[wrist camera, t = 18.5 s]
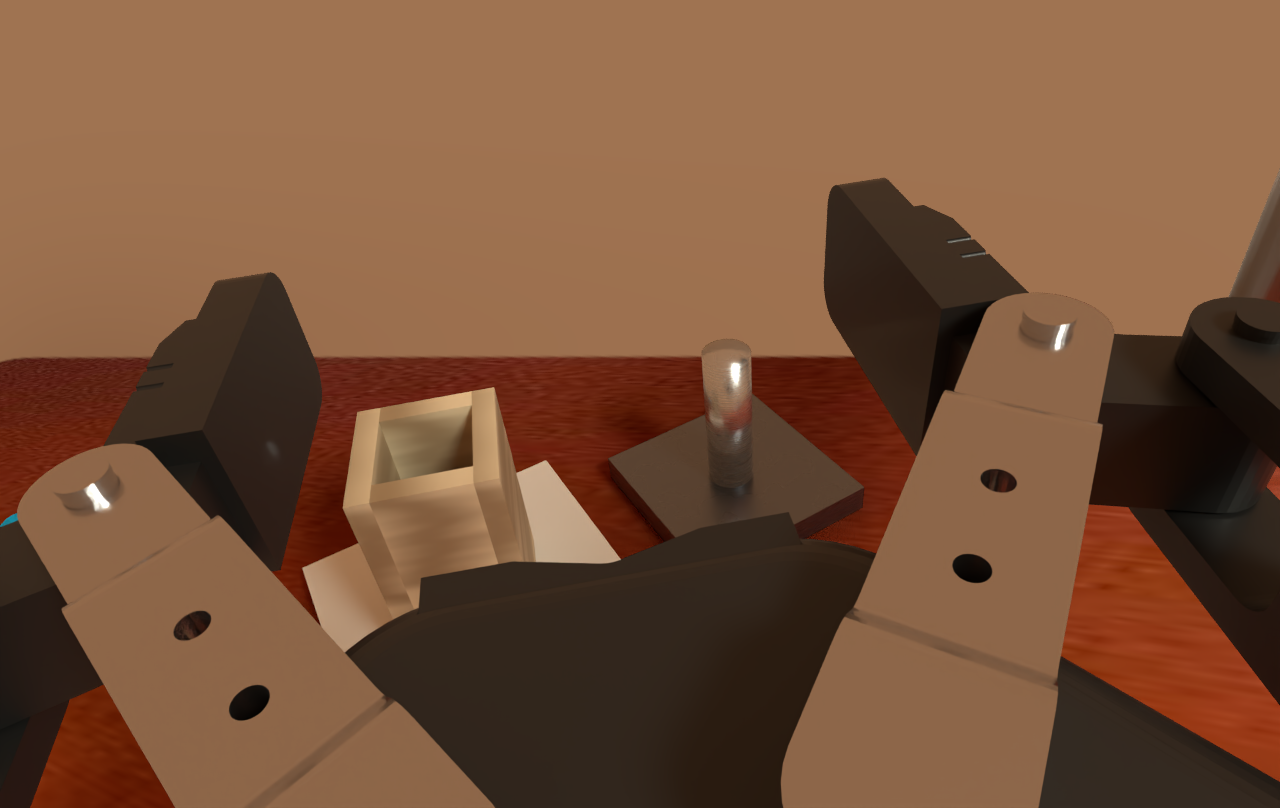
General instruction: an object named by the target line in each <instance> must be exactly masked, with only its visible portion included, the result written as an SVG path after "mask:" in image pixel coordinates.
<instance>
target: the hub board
mask: <svg viewBox="0 0 1280 808" xmlns="http://www.w3.org/2000/svg"><path fill="white" fill-rule="evenodd" d="M516 474H517V478H518V481H519V485H520V489H521V493H522V497H523V501H524V504H525V508H526V512H527V516H528V520H529V524H530V527H531V531H532V535H533V539H534V547H535V557H536V562H559V563H611V562H615V561H618V560H621V559H620V558H619V556H618V555H617V554H616V552H615V551H614V550H613V548H612V547H611V546H610V544H609V543H608V542H607V540H606V539H605V538H604V536H603V535H602V534H601V532H600V531H599V530H598V528H597V527H596V526H595V524H594V523H593V522H592V520H591V519H590V518H589V517H588V515H587V514H586V513H585V511H584V510H583V509H582V507H581V506H580V505H579V503H578V502H577V501H576V499H575V498H574V497H573V495H572V494H571V493H570V491H569V490H568V489H567V487H566V486H565V485H564V483H563V482H562V481H561V479H560V478H559V477H558V475H557V474H556V473H555V471H554V470H553V469H552V467H551V466H550V465H549V463H548V462H547V461H546V460H545V461H543V462H541V463H539V464H536V465H534V466H532V467H530V468H527V469H525V470H523V471H520V472H518V473H516ZM302 569H303V572H304V575H305V578H306V581H307V584H308V587H309V591H310V594H311V597H312V600H313V603H314V606H315V609H316V612H317V615H318V618H319V622H320V625H321V627H322V628H323V629H324V630H325V632H326V633H327V634H328V635H329V636H330V637H331V638H332V639H333V640H334V641H335V643H336V644H337V645H338V646H339V647H340V648H341V649H342V650H343V651H344V653H345V652H346V651H347V650H348V649H349V648H351V647H352V646H353V645H355V644H356V643H357V642H359V641H360V640H361V639H362V638H364V637H365V636H366V635H368V634H370V633H371V632H373V631H374V630H376V629H377V628H379V627H381V626H382V625H384V624H385V623H387V622H389V621H391V620H393V618H392V616H391V613H390V611H389V609H388V607H387V605H386V602H385V600H384V598H383V596H382V594H381V591H380V589H379V587H378V585H377V583H376V580H375V578H374V576H373V574H372V572H371V569H370V567H369V565H368V563H367V561H366V558H365V556H364V554H363V552H362V550H361V547H360V545H359V543H358V544H355V545H353V546H351V547H349V548H346V549H344V550H342V551H340V552H337V553H335V554H333V555H330V556H328V557H326V558H324V559H321V560H319V561H317V562H315V563H312V564H310V565H308V566H306V567H303V568H302Z"/></svg>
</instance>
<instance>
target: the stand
mask: <svg viewBox="0 0 1280 808" xmlns="http://www.w3.org/2000/svg"><path fill="white" fill-rule="evenodd" d="M702 370H703V386H704V402H705V415H703V416H701V417H698V418H696V419H694V420H692V421H690V422H687V423H685V424H683V425H681V426H679V427H676V428H674V429H672V430H670V431H668V432H665V433H663V434H661V435H659V436H657V437H654V438H652V439H650V440H648V441H646V442H643V443H641V444H639V445H637V446H635V447H632V448H630V449H628V450H626V451H624V452H621V453H619V454H617V455H615V456H613V457H610V458H608V461H609V467H610V473H611V478H612V479H613V480H614V482H615V483H616V484H617V485H618V486H619V488H620V489H621V490H622V491H623V492H624V494H625V495H626V496H627V497H628V498H629V500H630V501H631V502H632V503H633V504H634V506H635V507H636V508H637V509H638V510H639V512H640V513H641V514H642V515H643V516H644V518H645V519H646V520H647V521H648V522H649V524H650V525H651V526H652V527H653V528H654V530H655V531H656V532H657V533H658V534H659V536H660V537H661V538H662V539H663V540H664V542H666V541H668V540H671V539H673V538H676V537H678V536H681V535H683V534H686V533H688V532H691V531H693V530H696V529H698V528H702V527H708V526H713V525H719V524H724V523H730V522H735V521H741V520H747V519H752V518H758V517H763V516H769V515H774V514H780V513H786V512H789V514H790V516H791V519H792V521H793V524H794V526H795V529H796V531H797V534H798V536H799V539H805V538H807V537H808V536H810V535H812V534H814V533H816V532H818V531H820V530H821V529H823V528H825V527H827V526H829V525H831V524H833V523H834V522H836V521H838V520H840V519H842V518H844V517H845V516H847V515H849V514H851V513H853V512H855V511H857V510H858V509H860V508H862V506H863V495H864V487H863V486H862V485H861V484H860V483H859V482H857V481H856V480H855V479H854V478H853V477H851V476H850V475H849V474H848V473H847V472H845V471H844V470H843V469H842V468H841V467H839V466H838V465H837V464H836V463H835V462H833V461H832V460H831V459H830V458H829V457H827V456H826V455H825V454H824V453H823V452H821V451H820V450H819V449H818V448H817V447H815V446H814V445H813V444H812V443H811V442H809V441H808V440H807V439H806V438H805V437H803V436H802V435H801V434H800V433H799V432H797V431H796V430H795V429H794V428H793V427H791V426H790V425H789V424H788V423H787V422H785V421H784V420H783V419H782V418H781V417H779V416H778V415H777V414H776V413H775V412H774V411H772V410H771V409H770V408H769V407H768V406H766V405H765V404H764V403H763V402H762V401H760V400H759V399H758V398H757V397H756V396H754V395H753V394H752V382H751V350H750V348H749V346H748V345H747V344H745V343H744V342H741V341H739V340H734V339H721V340H716V341H713V342H711V343H709V344H708V345H706V346H705V347H704V348H703V350H702Z"/></svg>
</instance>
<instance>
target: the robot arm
mask: <svg viewBox="0 0 1280 808" xmlns="http://www.w3.org/2000/svg"><path fill="white" fill-rule="evenodd" d="M824 270H825V271H824V291H825V299H826V304H827V308H828V311H829V314H830V317H831V319H832V321H833V323H834V324H835V326H836V328H837V329H838V331H839V332H840V334H841V336H842V337H843V339H844V340H845V342H846V344H847V345H848V347H849V348H850V350H851V352H852V353H853V355H854V357H855V358H856V360H857V361H858V363H859V365H860V366H861V368H862V369H863V371H864V373H865V374H866V376H867V377H868V379H869V381H870V382H871V384H872V385H873V387H874V389H875V390H876V392H877V393H878V395H879V397H880V398H881V400H882V402H883V403H884V405H885V406H886V408H887V410H888V411H889V413H890V414H891V416H892V418H893V419H894V421H895V422H896V424H897V426H898V427H899V429H900V430H901V432H902V434H903V435H904V437H905V438H906V440H907V442H908V443H909V445H910V447H911V448H912V450H913V451H914V453H915V455H916V456H917V457H916V459H915V462H914V464H913V466H912V469H911V471H910V474H909V476H908V479H907V481H906V483H905V486H904V488H903V491H902V493H901V496H900V498H899V500H898V503H897V505H896V508H895V510H894V513H893V515H892V517H891V520H890V522H889V525H888V527H887V530H886V532H885V534H884V537H883V539H882V542H881V544H880V547H879V549H878V551H877V554H876V553H873V552H870V551H867V550H864V549H861V548H858V547H855V546H850V545H846V544H841V543H837V542H831V541H824V540H816V539H799V536H798V534H797V531H796V529H795V526H794V524H793V521H792V519H791V516H790V514H789V512H786V513H780V514H774V515H769V516H763V517H758V518H752V519H747V520H741V521H735V522H730V523H724V524H719V525H713V526H708V527H702V528H698V529H696V530H693V531H691V532H688V533H686V534H683V535H681V536H678V537H676V538H673V539H671V540H668V541H666V542H663V543H661V544H658V545H656V546H653V547H651V548H648V549H646V550H643V551H641V552H638V553H636V554H633V555H631V556H628V557H626V558H623V559H621V560H618V561H615V562H611V563H559V562H518V561H512V562H507V563H501V564H495V565H490V566H484V567H479V568H473V569H468V570H462V571H456V572H451V573H445V574H440V575H434V576H429V577H423V578H421V582H420V596H419V608H417V609H414V610H412V611H409V612H407V613H405V614H403V615H401V616H399V617H397V618H395V619H393V620H391V621H389V622H387V623H385V624H384V625H382V626H381V627H379V628H377V629H376V630H374V631H373V632H371V633H370V634H368V635H366V636H365V637H364V638H362V639H361V640H360V641H359V642H357V643H356V644H355V645H353V646H352V647H351V648H349V649H348V650H347V651H346V652H345V653H344V651H343V650H342V649H341V648H340V647H339V646H338V645H337V644H336V643H335V641H334V640H333V639H332V638H331V637H330V636H329V635H328V634H327V633H326V632H325V630H324V629H323V628H322V627H321V626H320V625H319V624H318V623H317V622H316V621H315V619H314V618H313V617H312V616H311V615H310V614H309V613H308V612H307V611H306V610H305V608H304V607H303V606H302V605H301V604H300V603H299V602H298V601H297V600H296V599H295V597H294V596H293V595H292V594H291V593H290V592H289V591H288V590H287V589H286V587H285V586H284V585H283V584H282V583H281V582H280V581H279V580H278V579H277V578H276V576H275V575H274V574H273V573H272V572H271V571H277V570H281V566H282V561H283V557H284V553H285V549H286V545H287V541H288V537H289V533H290V529H291V525H292V521H293V517H294V513H295V509H296V505H297V501H298V496H299V492H300V488H301V484H302V480H303V476H304V472H305V468H306V464H307V460H308V456H309V452H310V448H311V444H312V440H313V435H314V431H315V427H316V423H317V419H318V415H319V411H320V407H321V402H322V388H321V380H320V375H319V371H318V368H317V364H316V362H315V359H314V357H313V354H312V352H311V350H310V347H309V345H308V342H307V340H306V338H305V335H304V333H303V331H302V328H301V326H300V324H299V321H298V319H297V316H296V314H295V312H294V309H293V307H292V304H291V302H290V299H289V297H288V295H287V292H286V290H285V288H284V286H283V284H282V282H281V280H280V279H279V278H278V277H277V276H276V275H275V274H274V273H271V272H270V273H264V274H257V275H251V276H244V277H238V278H232V279H225V280H219V281H217V282H215V283H214V285H213V287H212V289H211V291H210V293H209V295H208V297H207V299H206V301H205V303H204V305H203V307H202V308H201V310H200V312H199V314H198V317H197V318H196V319H194V320H188V321H185V322H184V323H183V324H182V325H181V326H179V327H178V328H177V329H176V330H175V331H173V332H172V333H171V334H170V335H169V336H168V337H167V338H165V339H164V340H163V341H162V342H161V343H160V344H159V346H158V347H157V349H156V351H155V353H154V355H153V356H152V358H151V360H150V362H149V364H148V365H147V367H146V368H147V372H144V373H143V375H142V376H141V378H140V380H139V382H138V384H137V386H136V389H137V391H136V392H133V393H132V395H131V397H130V398H129V400H128V402H127V404H126V406H125V408H124V409H123V411H122V413H121V415H120V417H119V419H118V420H117V422H116V424H115V426H114V428H113V430H112V431H111V433H110V435H109V437H108V439H107V441H106V442H105V444H104V446H102V447H99V448H95V449H92V450H89V451H86V452H84V453H81V454H78V455H76V456H74V457H72V458H70V459H68V460H66V461H64V462H62V463H61V464H59V465H57V466H56V467H54V468H53V469H51V470H50V471H48V472H47V473H45V474H44V475H43V476H42V477H40V478H39V479H38V480H37V481H36V482H35V483H34V484H33V485H32V486H31V487H30V488H29V489H28V491H27V492H26V493H25V494H24V496H23V498H22V499H21V501H20V503H19V506H18V510H17V518H18V520H17V521H15V522H13V523H10V524H7V525H4V526H2V527H0V808H30V806H31V804H32V801H33V798H34V795H35V793H36V790H37V787H38V785H39V782H40V779H41V776H42V774H43V771H44V768H45V766H46V763H47V760H48V757H49V755H50V752H51V749H52V747H53V744H54V741H55V739H56V736H57V733H58V730H59V728H60V725H61V722H62V720H63V717H64V714H65V711H66V709H67V706H68V703H69V699H71V698H74V697H76V696H78V695H81V694H83V693H85V692H87V691H90V690H92V689H94V688H97V687H99V686H101V685H103V684H104V686H105V687H106V689H107V691H108V693H109V694H110V696H111V698H112V699H113V701H114V703H115V705H116V706H117V708H118V710H119V711H120V713H121V715H122V717H123V718H124V720H125V722H126V724H127V725H128V727H129V729H130V730H131V732H132V734H133V736H134V737H135V739H136V741H137V742H138V744H139V746H140V748H141V749H142V751H143V753H144V755H145V756H146V758H147V760H148V761H149V763H150V765H151V767H152V768H153V770H154V772H155V773H156V775H157V777H158V779H159V780H160V782H161V784H162V786H163V787H164V789H165V791H166V792H167V794H168V796H169V798H170V799H171V801H172V803H173V805H174V806H175V808H1280V782H1279V781H1277V780H1275V779H1274V778H1272V777H1270V776H1268V775H1267V774H1265V773H1263V772H1261V771H1260V770H1258V769H1256V768H1254V767H1253V766H1251V765H1249V764H1247V763H1246V762H1244V761H1242V760H1241V759H1239V758H1237V757H1235V756H1234V755H1232V754H1230V753H1228V752H1227V751H1225V750H1223V749H1221V748H1220V747H1218V746H1216V745H1214V744H1213V743H1211V742H1209V741H1207V740H1206V739H1204V738H1202V737H1200V736H1199V735H1197V734H1195V733H1194V732H1192V731H1190V730H1188V729H1187V728H1185V727H1183V726H1181V725H1180V724H1178V723H1176V722H1174V721H1173V720H1171V719H1169V718H1167V717H1166V716H1164V715H1162V714H1160V713H1159V712H1157V711H1155V710H1153V709H1152V708H1150V707H1148V706H1147V705H1145V704H1143V703H1141V702H1140V701H1138V700H1136V699H1134V698H1133V697H1131V696H1129V695H1127V694H1126V693H1124V692H1122V691H1120V690H1119V689H1117V688H1115V687H1114V686H1112V685H1110V684H1108V683H1107V682H1105V681H1103V680H1101V679H1100V678H1098V677H1096V676H1094V675H1093V674H1091V673H1089V672H1087V671H1086V670H1084V669H1082V668H1080V667H1079V666H1077V665H1075V664H1074V663H1072V662H1070V661H1068V660H1067V659H1065V658H1063V657H1061V651H1062V646H1063V641H1064V635H1065V630H1066V624H1067V619H1068V613H1069V608H1070V603H1071V597H1072V592H1073V586H1074V581H1075V576H1076V570H1077V565H1078V559H1079V554H1080V548H1081V543H1082V538H1083V532H1084V527H1085V521H1086V516H1087V511H1088V505H1089V504H1092V505H1107V506H1121V507H1129V509H1130V510H1131V512H1132V513H1133V515H1134V516H1135V517H1136V519H1137V520H1138V521H1139V522H1140V524H1141V525H1142V526H1143V528H1144V529H1145V530H1146V532H1147V533H1148V534H1149V535H1150V537H1151V538H1152V539H1153V541H1154V542H1155V543H1156V545H1157V546H1158V547H1159V548H1160V550H1161V551H1162V552H1163V554H1164V555H1165V556H1166V558H1167V559H1168V560H1169V562H1170V563H1171V564H1172V565H1173V567H1174V568H1175V569H1176V571H1177V572H1178V573H1179V575H1180V576H1181V577H1182V578H1183V580H1184V581H1185V582H1186V584H1187V585H1188V586H1189V588H1190V589H1191V590H1192V591H1193V593H1194V594H1195V595H1196V597H1197V598H1198V599H1199V601H1200V602H1201V603H1202V605H1203V606H1204V607H1205V608H1206V610H1207V611H1208V612H1209V614H1210V615H1211V616H1212V618H1213V619H1214V620H1215V621H1216V623H1217V624H1218V625H1219V627H1220V628H1221V629H1222V631H1223V632H1224V633H1225V635H1226V636H1227V637H1228V638H1229V640H1230V641H1231V642H1232V644H1233V645H1234V646H1235V648H1236V649H1237V650H1238V651H1239V653H1240V654H1241V655H1242V657H1243V658H1244V659H1245V661H1246V662H1247V663H1248V664H1249V666H1250V667H1251V668H1252V670H1253V671H1254V672H1255V674H1256V675H1257V676H1258V678H1259V679H1260V680H1261V681H1262V683H1263V684H1264V685H1265V687H1266V688H1267V689H1268V691H1269V692H1270V693H1271V694H1272V696H1273V697H1274V698H1275V700H1276V701H1277V702H1278V704H1279V705H1280V500H1279V499H1278V498H1277V497H1276V496H1275V495H1274V494H1273V493H1272V492H1271V491H1270V490H1269V489H1268V488H1267V487H1266V486H1267V484H1268V482H1269V481H1270V479H1271V477H1272V475H1273V473H1274V471H1275V469H1276V467H1277V466H1278V467H1279V468H1280V169H1279V172H1278V174H1277V177H1276V180H1275V182H1274V185H1273V187H1272V190H1271V192H1270V195H1269V197H1268V200H1267V202H1266V205H1265V207H1264V210H1263V212H1262V215H1261V217H1260V220H1259V222H1258V225H1257V227H1256V230H1255V232H1254V235H1253V237H1252V240H1251V242H1250V245H1249V247H1248V250H1247V252H1246V255H1245V258H1244V260H1243V262H1242V265H1241V268H1240V270H1239V272H1238V275H1237V277H1236V280H1235V282H1234V285H1233V288H1232V290H1231V292H1230V295H1229V297H1227V298H1219V299H1214V300H1210V301H1207V302H1204V303H1202V304H1200V305H1198V306H1197V307H1196V308H1195V309H1194V310H1193V311H1192V313H1191V315H1190V317H1189V320H1188V323H1187V325H1186V328H1185V330H1184V333H1183V336H1182V337H1181V336H1149V335H1148V336H1147V335H1121V334H1114V329H1113V326H1112V324H1111V322H1110V321H1109V319H1108V318H1107V317H1106V316H1105V315H1104V314H1103V313H1101V312H1100V311H1099V310H1097V309H1096V308H1094V307H1092V306H1090V305H1088V304H1087V303H1084V302H1081V301H1079V300H1076V299H1073V298H1069V297H1065V296H1061V295H1056V294H1048V293H1029V292H1027V291H1026V290H1025V289H1024V288H1023V287H1022V286H1021V285H1020V284H1019V283H1018V282H1017V281H1016V280H1015V279H1014V278H1013V277H1012V276H1011V275H1010V274H1009V273H1008V272H1007V271H1006V270H1005V269H1004V268H1003V267H1002V266H1001V265H1000V264H999V263H998V262H997V261H996V260H995V259H994V258H993V257H992V256H991V255H990V254H987V255H986V253H985V249H984V248H983V247H982V246H981V245H980V244H979V243H978V242H976V241H975V240H971V236H970V235H969V234H968V233H967V232H966V231H965V230H964V229H963V228H962V227H961V226H960V225H959V224H958V223H957V222H956V221H955V220H954V219H953V218H951V217H949V216H946V215H944V214H942V213H940V212H937V211H935V210H933V209H931V208H929V207H927V206H924V205H921V206H915V207H914V206H913V205H912V204H911V203H910V202H909V201H908V200H907V199H906V198H905V197H904V196H903V195H902V194H901V193H900V192H899V191H898V190H897V189H896V188H895V187H894V186H893V185H892V184H891V183H890V182H889V180H887V179H886V178H880V179H873V180H867V181H861V182H854V183H848V184H842V185H835V186H833V187H832V189H831V191H830V194H829V199H828V210H827V230H826V249H825V269H824Z"/></svg>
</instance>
